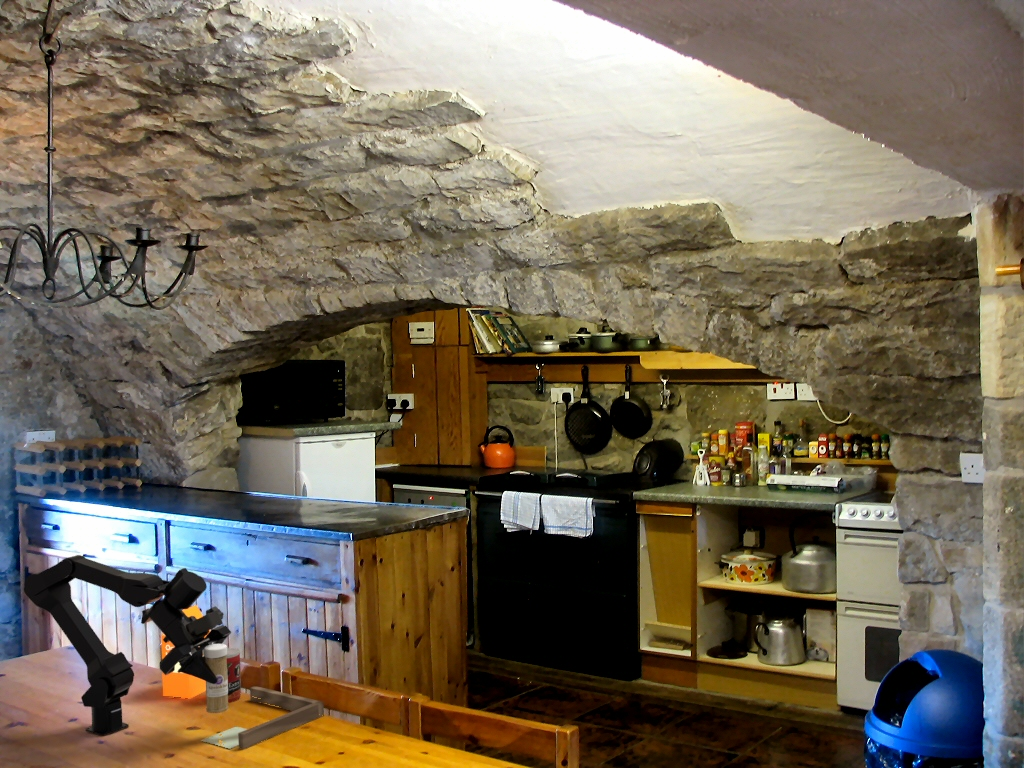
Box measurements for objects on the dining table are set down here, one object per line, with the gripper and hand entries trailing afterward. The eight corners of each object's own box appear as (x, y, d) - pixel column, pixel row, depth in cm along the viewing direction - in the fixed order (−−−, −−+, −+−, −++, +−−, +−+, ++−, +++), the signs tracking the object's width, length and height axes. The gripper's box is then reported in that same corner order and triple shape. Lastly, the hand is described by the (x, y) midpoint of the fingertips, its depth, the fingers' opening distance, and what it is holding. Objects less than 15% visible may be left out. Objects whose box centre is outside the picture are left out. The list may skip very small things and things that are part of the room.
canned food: (231, 704, 218) (229, 657, 218) (199, 703, 220) (198, 656, 220) (247, 693, 226) (245, 647, 226) (216, 692, 228) (214, 646, 228)
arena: (168, 731, 203) (167, 717, 203) (255, 699, 222) (255, 686, 222) (237, 752, 190) (237, 737, 190) (323, 715, 209) (323, 702, 209)
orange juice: (162, 696, 226) (159, 612, 226) (186, 684, 234) (183, 603, 234) (190, 699, 224) (187, 614, 224) (213, 687, 232) (210, 605, 232)
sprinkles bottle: (212, 715, 195) (210, 650, 195) (202, 710, 198) (200, 646, 198) (233, 709, 198) (230, 645, 198) (222, 704, 202) (220, 641, 201)
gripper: (170, 608, 190) (221, 666, 187) (222, 588, 208) (268, 640, 205) (137, 646, 192) (187, 704, 189) (191, 622, 210) (237, 675, 207)
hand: (222, 679), depth 198 cm, fingers closed on sprinkles bottle, 4 cm apart
